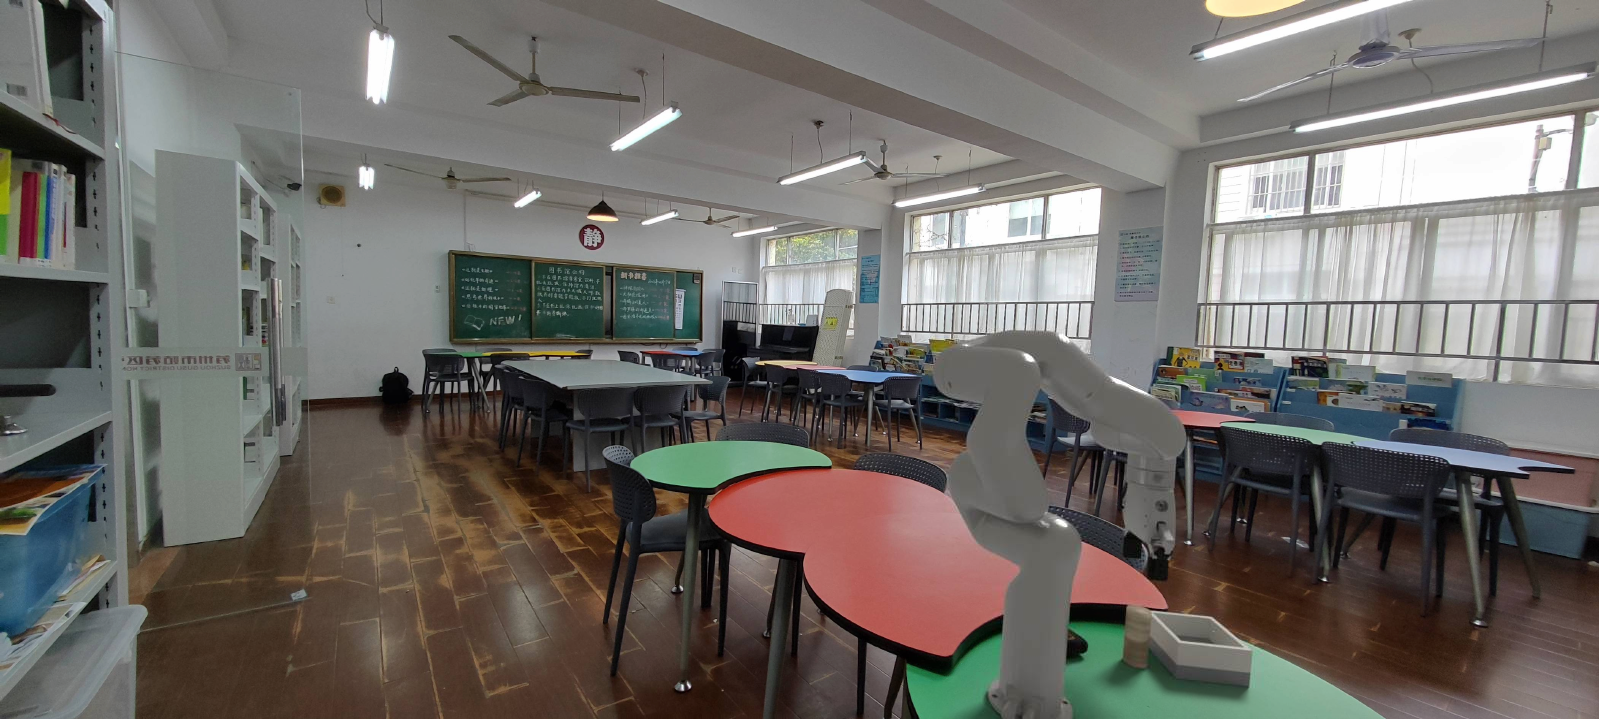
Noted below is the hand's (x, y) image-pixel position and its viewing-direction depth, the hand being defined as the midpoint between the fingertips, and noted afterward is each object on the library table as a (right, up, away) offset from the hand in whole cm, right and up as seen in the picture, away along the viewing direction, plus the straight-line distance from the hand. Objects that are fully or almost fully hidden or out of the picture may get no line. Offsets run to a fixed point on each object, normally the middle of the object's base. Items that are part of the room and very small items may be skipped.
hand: (1143, 568), depth 105 cm
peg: (-1, -18, +1) cm, 18 cm away
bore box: (+10, -18, +1) cm, 21 cm away
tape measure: (-13, -17, +4) cm, 22 cm away
